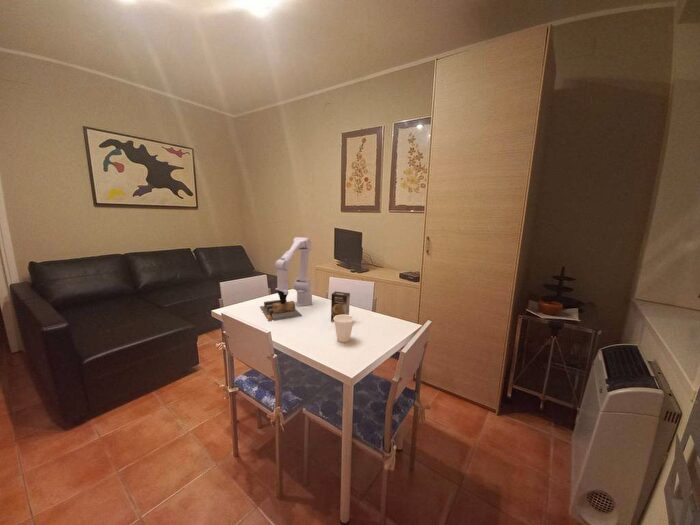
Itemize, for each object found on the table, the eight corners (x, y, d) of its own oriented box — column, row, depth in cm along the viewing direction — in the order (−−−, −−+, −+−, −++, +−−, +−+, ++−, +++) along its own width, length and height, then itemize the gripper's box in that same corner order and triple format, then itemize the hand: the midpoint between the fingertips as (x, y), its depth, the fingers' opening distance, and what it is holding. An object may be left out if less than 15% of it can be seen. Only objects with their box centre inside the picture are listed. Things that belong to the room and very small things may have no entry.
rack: (289, 303, 184) (289, 298, 183) (301, 316, 162) (301, 310, 162) (259, 307, 175) (259, 302, 174) (268, 321, 153) (268, 315, 153)
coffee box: (330, 321, 155) (330, 293, 152) (334, 317, 161) (334, 290, 159) (346, 323, 153) (346, 295, 150) (349, 319, 159) (350, 292, 156)
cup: (342, 333, 141) (342, 312, 139) (357, 339, 135) (358, 318, 133) (328, 340, 133) (329, 318, 131) (344, 346, 127) (345, 324, 125)
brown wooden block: (293, 312, 167) (293, 300, 166) (295, 314, 163) (295, 302, 162) (272, 315, 161) (272, 303, 160) (274, 317, 158) (274, 305, 157)
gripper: (272, 278, 163) (273, 300, 165) (278, 284, 150) (279, 308, 153) (284, 277, 166) (284, 298, 169) (291, 282, 154) (291, 306, 156)
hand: (282, 303), depth 161 cm, fingers closed
